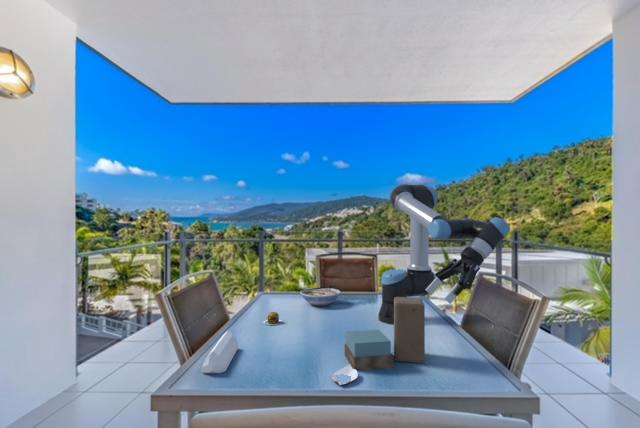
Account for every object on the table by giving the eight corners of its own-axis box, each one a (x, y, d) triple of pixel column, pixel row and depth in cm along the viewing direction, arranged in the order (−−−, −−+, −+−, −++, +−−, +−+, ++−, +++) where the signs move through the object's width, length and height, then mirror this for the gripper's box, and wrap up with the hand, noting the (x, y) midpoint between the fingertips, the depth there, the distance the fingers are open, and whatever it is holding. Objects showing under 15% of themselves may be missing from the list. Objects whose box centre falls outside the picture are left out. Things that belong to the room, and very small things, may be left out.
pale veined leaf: (361, 371, 110) (360, 363, 110) (353, 392, 99) (352, 383, 99) (337, 370, 113) (336, 362, 113) (326, 390, 101) (325, 381, 101)
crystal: (229, 363, 108) (244, 337, 132) (209, 352, 108) (227, 327, 132) (217, 384, 108) (234, 354, 132) (197, 373, 108) (217, 345, 132)
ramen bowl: (309, 312, 182) (309, 296, 182) (291, 302, 202) (291, 288, 202) (350, 306, 193) (350, 291, 193) (329, 298, 214) (329, 284, 214)
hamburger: (270, 329, 155) (270, 317, 155) (255, 323, 164) (255, 312, 164) (291, 324, 163) (291, 312, 163) (276, 319, 172) (276, 307, 172)
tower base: (379, 354, 127) (379, 341, 127) (393, 369, 114) (393, 355, 114) (344, 356, 125) (344, 343, 125) (354, 372, 112) (354, 358, 112)
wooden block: (425, 364, 117) (424, 303, 117) (394, 361, 119) (394, 302, 119) (422, 353, 127) (422, 297, 127) (393, 351, 129) (393, 296, 129)
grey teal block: (378, 342, 126) (378, 329, 126) (390, 355, 114) (390, 341, 114) (346, 344, 124) (345, 331, 124) (354, 357, 112) (354, 343, 112)
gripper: (505, 265, 115) (464, 313, 113) (463, 256, 140) (427, 296, 137) (491, 249, 115) (448, 296, 112) (450, 243, 139) (414, 282, 137)
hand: (437, 296), depth 125 cm, fingers open, 13 cm apart
